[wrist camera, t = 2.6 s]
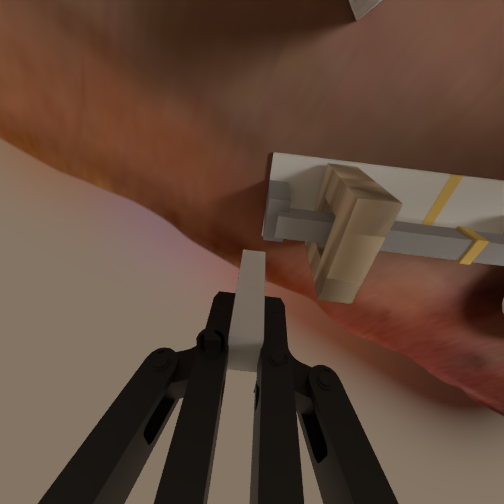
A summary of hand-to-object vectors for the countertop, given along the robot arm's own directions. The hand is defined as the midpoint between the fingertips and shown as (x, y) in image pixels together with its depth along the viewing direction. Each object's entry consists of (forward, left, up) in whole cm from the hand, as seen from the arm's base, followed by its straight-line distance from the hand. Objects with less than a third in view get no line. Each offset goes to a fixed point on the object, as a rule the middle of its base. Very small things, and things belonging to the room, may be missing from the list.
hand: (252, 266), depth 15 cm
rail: (-16, 0, -13) cm, 21 cm away
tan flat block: (-8, 0, -12) cm, 14 cm away
